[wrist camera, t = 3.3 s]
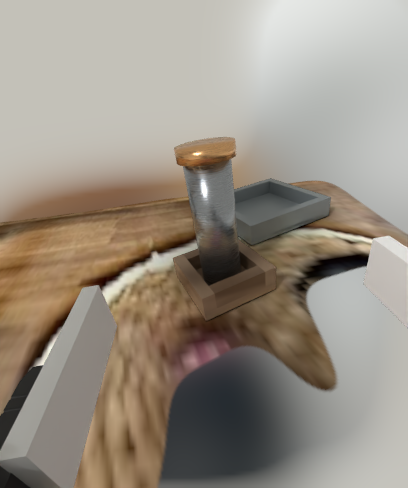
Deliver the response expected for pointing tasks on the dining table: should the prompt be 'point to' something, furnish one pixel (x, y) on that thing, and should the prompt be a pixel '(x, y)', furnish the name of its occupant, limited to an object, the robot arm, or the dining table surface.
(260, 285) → the socket block
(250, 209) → the tray
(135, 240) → the dining table surface
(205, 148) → the pin
